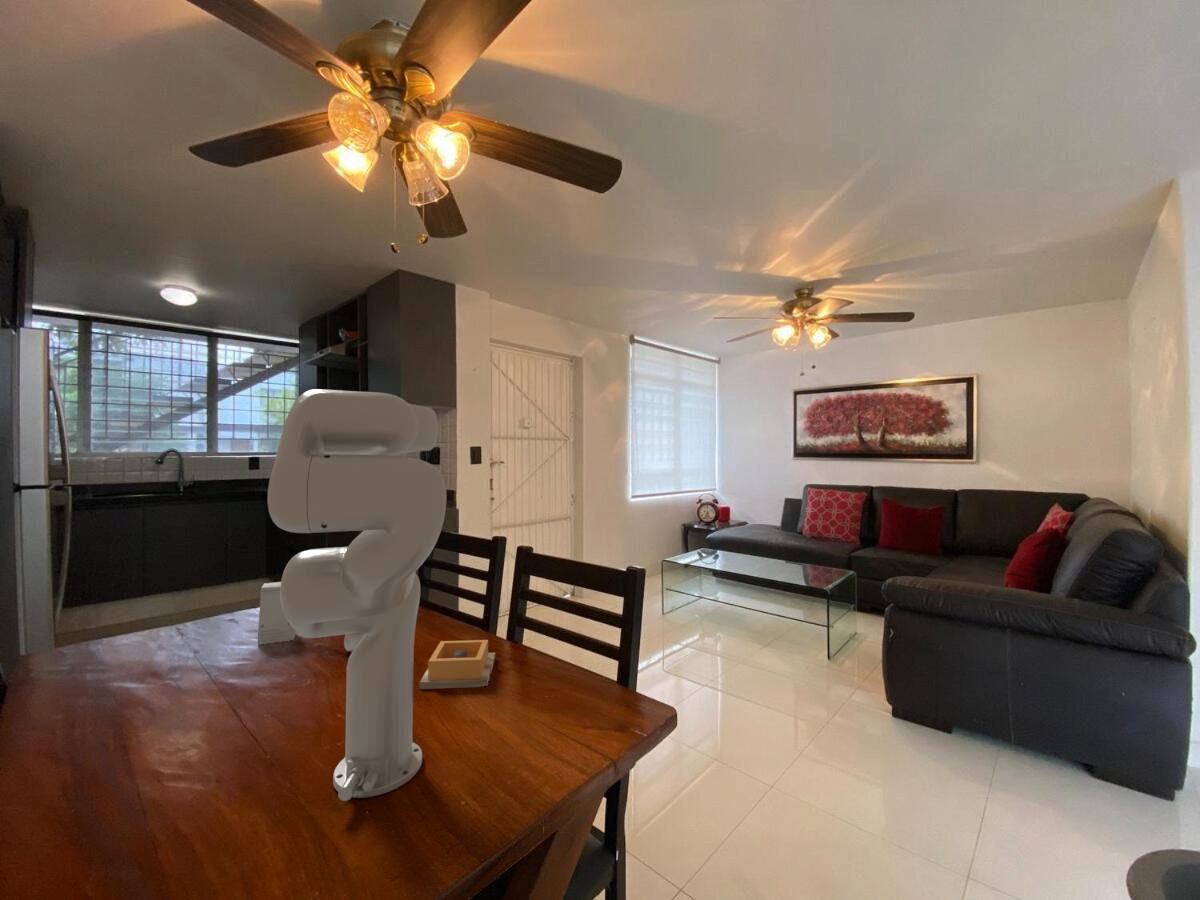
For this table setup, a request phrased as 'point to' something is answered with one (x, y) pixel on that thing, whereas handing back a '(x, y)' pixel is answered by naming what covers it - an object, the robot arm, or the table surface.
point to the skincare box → (273, 617)
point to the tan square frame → (458, 660)
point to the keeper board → (460, 682)
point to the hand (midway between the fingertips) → (383, 563)
